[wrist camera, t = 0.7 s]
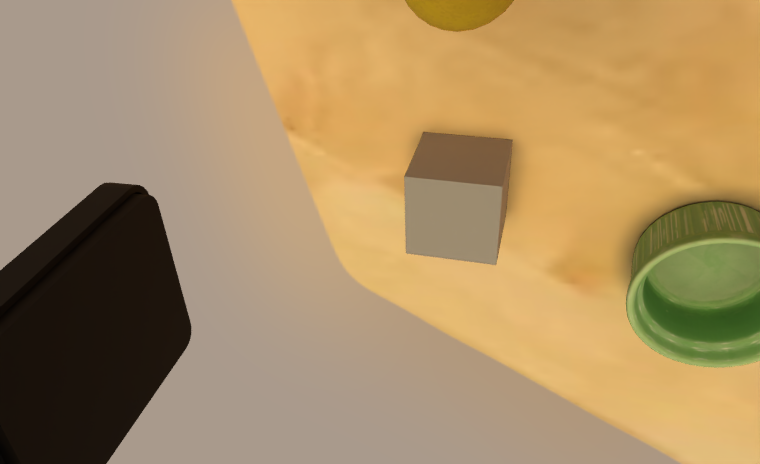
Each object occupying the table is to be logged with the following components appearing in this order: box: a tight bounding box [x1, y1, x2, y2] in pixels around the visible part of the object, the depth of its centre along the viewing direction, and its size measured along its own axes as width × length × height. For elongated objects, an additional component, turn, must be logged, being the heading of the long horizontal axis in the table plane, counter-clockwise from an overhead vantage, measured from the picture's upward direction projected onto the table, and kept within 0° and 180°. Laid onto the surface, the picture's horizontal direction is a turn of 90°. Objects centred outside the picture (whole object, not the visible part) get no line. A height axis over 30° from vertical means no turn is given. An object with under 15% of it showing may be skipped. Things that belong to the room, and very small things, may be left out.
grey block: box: [404, 132, 512, 265], centre depth 38 cm, size 5×5×5 cm
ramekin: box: [626, 202, 760, 368], centre depth 37 cm, size 9×9×4 cm
